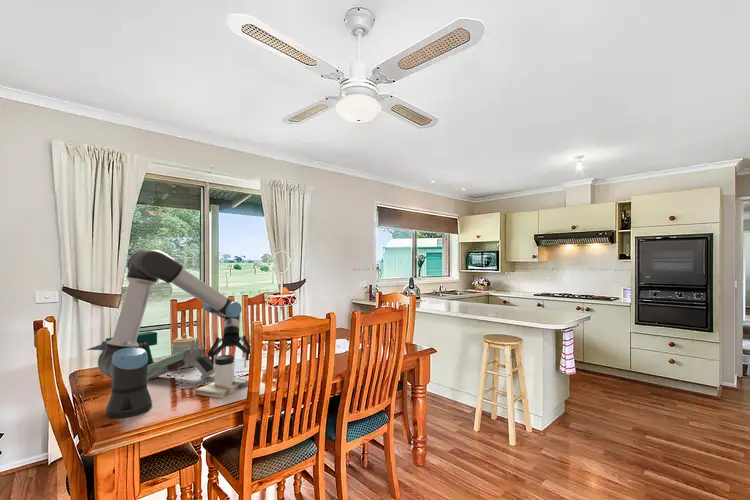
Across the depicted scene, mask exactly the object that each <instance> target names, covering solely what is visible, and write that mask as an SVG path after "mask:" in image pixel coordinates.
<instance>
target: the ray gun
mask: <svg viewBox="0 0 750 500" xmlns="http://www.w3.org/2000/svg"><path fill="white" fill-rule="evenodd" d="M199 339H200V338H198V337H195V340H192V343H191V348H189V349H186V350H182V351H180V352H179V353H177V354H174V355H172V356H171V355H170V356H167V357H164V358H162V359H161V360H158V361H154V362H155V363H153V364H150V365H148V366H147V381H150V380H152V379H155V378H158V377H159V376H162V375H165V374H167V373H169V372H171V371H174V370H177V369H180V368H179V367H181V366H184V365H186V364H189V366H191V367H196V369H197V370H198V371H199V372H200V373H201V376H200V377H199V378H200V379H201V380H204V379H207V378H208V377H210V376H212V375H213V374H214V371H213V363H211V358H210V357H208V355H206V354H204V350H205V348H206V347H205V346H203V345H202V346H200V347H199V342H200V340H199ZM194 345H195V347H194ZM191 362H192V364H194V365H191V364H190V363H191Z"/></svg>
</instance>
